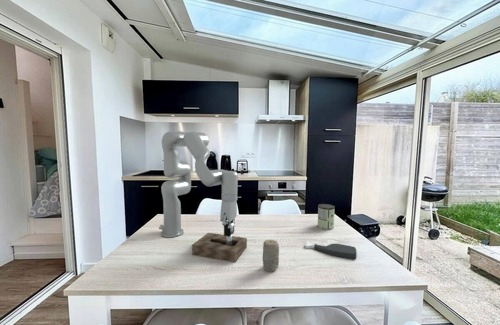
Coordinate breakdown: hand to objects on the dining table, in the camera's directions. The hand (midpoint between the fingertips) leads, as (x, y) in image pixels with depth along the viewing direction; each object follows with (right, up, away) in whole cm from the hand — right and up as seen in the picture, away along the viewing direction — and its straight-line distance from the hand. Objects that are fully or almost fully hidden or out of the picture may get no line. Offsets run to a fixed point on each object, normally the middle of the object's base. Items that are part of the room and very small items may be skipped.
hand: (229, 233), depth 111 cm
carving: (+19, -11, -14) cm, 26 cm away
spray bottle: (+50, -11, +5) cm, 52 cm away
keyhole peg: (0, -9, +1) cm, 9 cm away
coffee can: (+60, -8, +38) cm, 71 cm away
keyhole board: (-4, -9, +2) cm, 11 cm away
